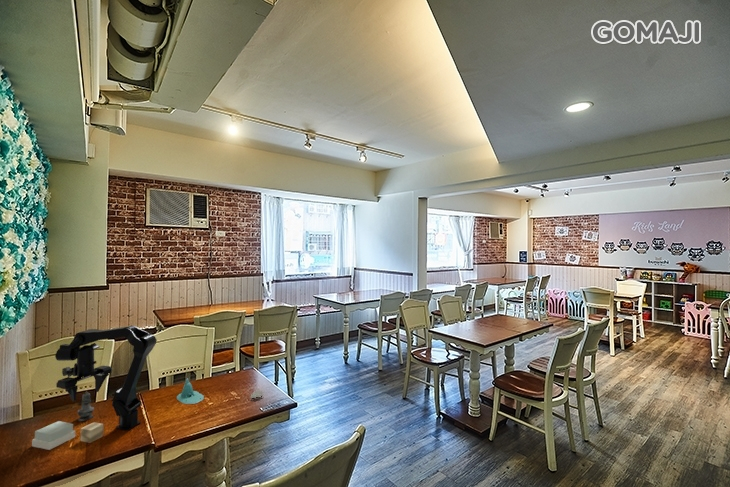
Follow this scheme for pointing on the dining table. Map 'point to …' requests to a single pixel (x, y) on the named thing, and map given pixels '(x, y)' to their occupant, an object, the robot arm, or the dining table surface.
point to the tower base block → (54, 443)
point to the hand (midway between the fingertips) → (85, 396)
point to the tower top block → (53, 431)
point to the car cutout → (257, 394)
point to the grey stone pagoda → (85, 408)
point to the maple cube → (91, 432)
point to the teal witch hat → (189, 394)
